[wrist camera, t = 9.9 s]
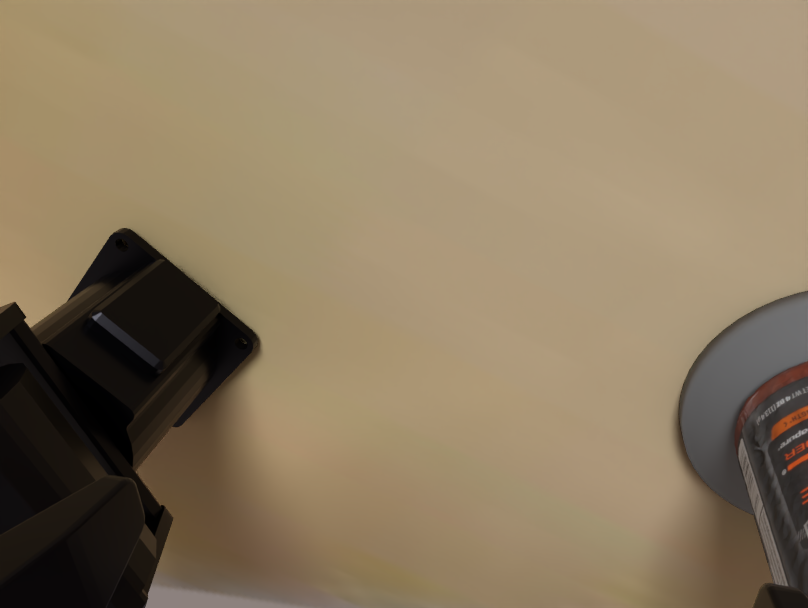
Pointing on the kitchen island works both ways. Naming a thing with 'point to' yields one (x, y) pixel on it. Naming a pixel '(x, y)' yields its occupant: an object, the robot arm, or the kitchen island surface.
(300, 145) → the kitchen island surface
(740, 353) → the coaster
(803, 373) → the supplement bottle
